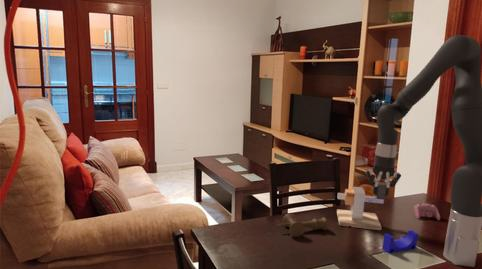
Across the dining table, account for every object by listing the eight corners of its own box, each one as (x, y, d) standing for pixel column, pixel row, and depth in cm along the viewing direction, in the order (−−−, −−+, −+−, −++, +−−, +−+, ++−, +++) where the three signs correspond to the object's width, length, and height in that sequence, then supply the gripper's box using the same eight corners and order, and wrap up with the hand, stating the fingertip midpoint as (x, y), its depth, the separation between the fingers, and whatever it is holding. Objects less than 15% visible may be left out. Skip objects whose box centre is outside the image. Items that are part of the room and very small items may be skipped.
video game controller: (436, 220, 152) (435, 204, 154) (441, 220, 148) (440, 203, 150) (413, 219, 153) (412, 202, 155) (417, 218, 149) (416, 202, 151)
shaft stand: (381, 230, 138) (385, 198, 135) (339, 225, 140) (342, 193, 138) (374, 216, 150) (378, 186, 147) (336, 212, 153) (339, 183, 150)
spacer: (353, 205, 142) (354, 193, 141) (345, 204, 142) (346, 193, 141) (351, 200, 147) (352, 189, 146) (344, 200, 147) (345, 188, 146)
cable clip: (406, 243, 128) (408, 228, 127) (415, 249, 124) (418, 234, 123) (379, 247, 125) (381, 231, 123) (388, 253, 120) (390, 238, 119)
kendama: (330, 236, 132) (280, 238, 128) (320, 225, 141) (272, 226, 137) (332, 221, 131) (281, 222, 127) (321, 211, 140) (274, 212, 136)
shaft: (383, 204, 140) (386, 185, 139) (337, 199, 144) (339, 180, 142) (382, 201, 143) (384, 183, 142) (337, 196, 146) (339, 178, 145)
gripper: (368, 155, 136) (363, 196, 139) (407, 158, 133) (400, 200, 137) (365, 150, 143) (360, 190, 146) (401, 153, 141) (396, 194, 144)
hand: (380, 195), depth 142 cm, fingers closed on shaft, 3 cm apart
